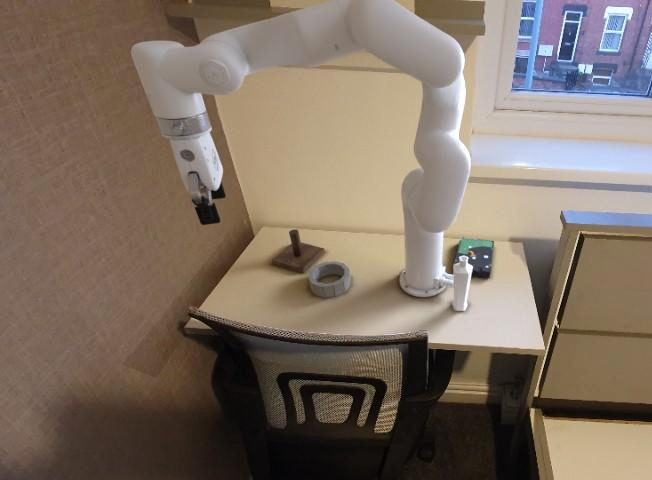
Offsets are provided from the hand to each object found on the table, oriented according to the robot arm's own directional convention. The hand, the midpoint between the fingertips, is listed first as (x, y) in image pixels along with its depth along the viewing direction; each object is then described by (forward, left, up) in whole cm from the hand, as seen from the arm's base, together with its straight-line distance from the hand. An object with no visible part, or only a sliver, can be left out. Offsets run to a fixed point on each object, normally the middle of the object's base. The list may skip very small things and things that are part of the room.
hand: (214, 210), depth 77 cm
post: (+3, -22, -28) cm, 36 cm away
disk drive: (-43, -40, -29) cm, 66 cm away
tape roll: (-11, -16, -28) cm, 35 cm away
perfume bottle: (-45, -21, -29) cm, 58 cm away
